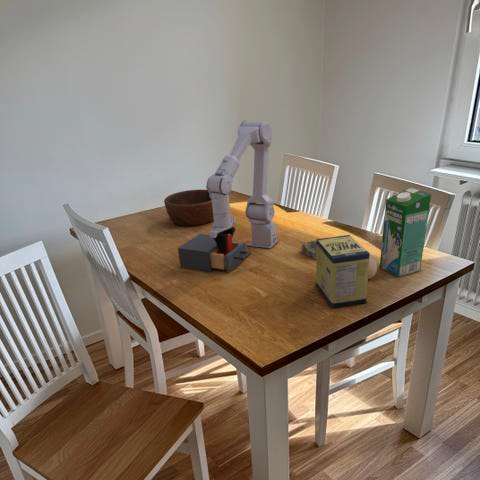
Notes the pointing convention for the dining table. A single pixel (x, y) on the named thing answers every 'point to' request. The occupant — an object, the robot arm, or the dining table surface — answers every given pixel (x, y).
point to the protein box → (342, 270)
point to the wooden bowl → (190, 207)
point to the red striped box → (227, 245)
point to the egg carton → (310, 248)
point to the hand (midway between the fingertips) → (225, 250)
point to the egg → (372, 267)
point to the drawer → (229, 257)
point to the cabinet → (197, 253)
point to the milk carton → (404, 231)
